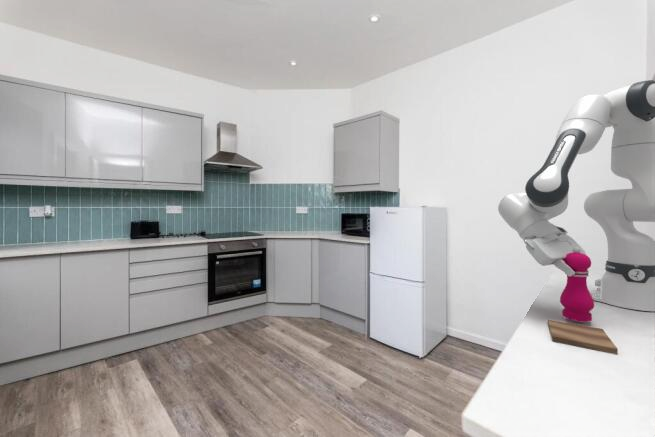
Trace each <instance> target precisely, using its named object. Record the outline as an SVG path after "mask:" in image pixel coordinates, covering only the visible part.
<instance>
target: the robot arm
mask: <svg viewBox="0 0 655 437" xmlns="http://www.w3.org/2000/svg"><path fill="white" fill-rule="evenodd" d="M611 127H612V129H613V134H612V139H611V154H610V170H611V172H612V173H613V174H614V175H615V176H617V177H620V178H622V179H626V180H628V181H629V182H630V183H631V186H632V188H623V189H605V190H601V191H597V192H593V193H591V194H589V195H588V196H587V197H586V199H585V200H584V203H583V210H584V212H585V214H586V215H587V216H588V217H589V218H590V219H592V220H593V221H594V222H596V223H597V224H598V225H599V226H600V227H601V229H602V230H603V232H604V234H605V236H606V242H607V260H606V262H605V264H604V265H605V266H604V267H605V268H604V270H605V272H604V273H603V275H602V276H601V277H600V278H599V279H596V280H595V281H594V286H595V287H597V288H596V289H593V292H592V294H591V296H592V298H593V301H594V302H595V301H597V302H601V303H605V304H608V305H611V306H614V307H619V308H624V309H627V310H635V311H644V312H645V311H646V312H655V239H654V238H653V237H652V236H650V235H648V234H646V233H643V232H641V231H639V230H637V228H636V227H635V225H634V222H639V223H640V222H641V223H643V222H644V223H655V80H654V79H653V80H651V79H650V80H642V81H638V82H635V83H633V84H630V85H626V86H623V87H620V88H616V89H613V90H611V91H609V92H607V93H605V94H603V95H602V94H597V93H596V94H593V93H592V94H587V95H585V96H582V97H580V98H578V99H577V100H576V101H575V102H574V104H573V105H572V106H571V108H570V109H569V111H568V112H567V113H566V115H565V117H564V119H563V120H562V122H561V124H560V126H559V129H558V131H557V134H556V138H555V142H554V145H553V146H552V148H551V150H550V152H549V153H548V155H547V158H546V159H545V162H544V163H543V165H542V166H541V168H540V169H538V170H537V171H536V172H535V173H534V174H532V176H531V177H529V179H528V180H527V181H526V184H525V187H524V189H525V192H511V193H508V194H507V195H505V196H504V197H503V198H502V199H501V200H500V201H499V204H498V207H497V208H498V209H497V211H498V213H499V215H500V216H501V217H502V219H503V221H504V222H505V223H506V224H507V225H508V226H509V227H510V228H512V230H514V231H516V233H517V234H518V235H519V237H520V238H521V239H522V241H523V243H524V244H525V248H526V250H527V252H528V253H529V254H530V255H531V256H532V258H533V259H534V260H535V261H536V263H537V264H538V265H539V264H540V265H541V266H551V265H553V266H555V267H556V268H557V269H559V270H560V271H562V272H563V273H564V274H565V273H566V274H567V275H568V276H573V275H575V274H576V273H577V272H576V271H575V270H574V269H573V268H570V267H569V266H568V265H567V264H565V262H564V261H563V259H565V258H566V255H567V254H568V253H573V248H574V247H579V248H580V249H581V252H580V253H583V254H585V255H587V254H586V251H585V249H584V248H583V247H581V245H580V244H579V243H578V242H577V241H575V239H573V237H571V236H570V235H568V231H567V230H566V229H565V228H564V227H560V226H557V225H555V224H553V223H552V222H550V221H549V220H551V219H553V218H556V217H558V216H559V215H560V216H561V215H562V214H563V213H564V212H565V211H566V210H567V208H568V206H569V192H570V191H569V189H570V181H569V172H570V170H571V168H572V166H573V164H574V162H575V160H576V159H577V156H578V155H583V154H586V153H589V152H591V151H593V149H594V148H595V147H596V146H597V145H598V143H599V141H600V140H601V139H602V136H603V134H604V132H605V131H606V128H611ZM587 271H589V268H588V269H587ZM566 274H565V275H566ZM567 275H566V276H567Z"/></svg>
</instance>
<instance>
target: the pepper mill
mask: <svg viewBox="0 0 655 437" xmlns="http://www.w3.org/2000/svg"><path fill="white" fill-rule="evenodd" d="M580 252H581V249H580V248H579V247H574V248H573V253H568V254H567V255H566V258H565V259H563V261H564V262H565V264H567V265H568V266H569V267H570V268H573V269H574V270H575V271H576V272H577V273H576V274H575V275H573V276H568V275H567V274H566V273H565V272H564V274H565V275H566V279H567V280H566V285H565V287H564V289H563V291H562V292H561V294H560V300H559V302H560V304H561V306H563V308H562V310H561V311H562V312H561V315H562V317H563V318H566V319H567V320H571V321H575V322H581V323H589V322H592V320H593V314H592V313H591V312H592V311H593V309H594V308H595V300H593V298H592V294H591V293H590V291H589V289H588V284H587V278H588V277H589V276H590V275H589V273H590V272H589V268H591V267H592V261H591V258H590V256H588V255H587V254H586V255H585V254H583V253H580ZM587 269H588V271H587ZM590 311H591V312H590Z"/></svg>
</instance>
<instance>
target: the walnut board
mask: <svg viewBox="0 0 655 437" xmlns="http://www.w3.org/2000/svg"><path fill="white" fill-rule="evenodd" d="M547 327H548V329H549V334H550V337H551V341H552V342H554V343H559V344H565V345H570V346H574V347H579V348H584V349H590V350H594V351H599V352H604V353H608V354H612V355H618V348H617V346H616V344H614V342H613V341H612V339H611V338H610V337H609V335H608V334H607V333H606V331H605V330H604V329H603V328H598V327H593V326H587V325H583V324H576V323H570V322H565V321H558V320H552V319H547Z"/></svg>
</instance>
